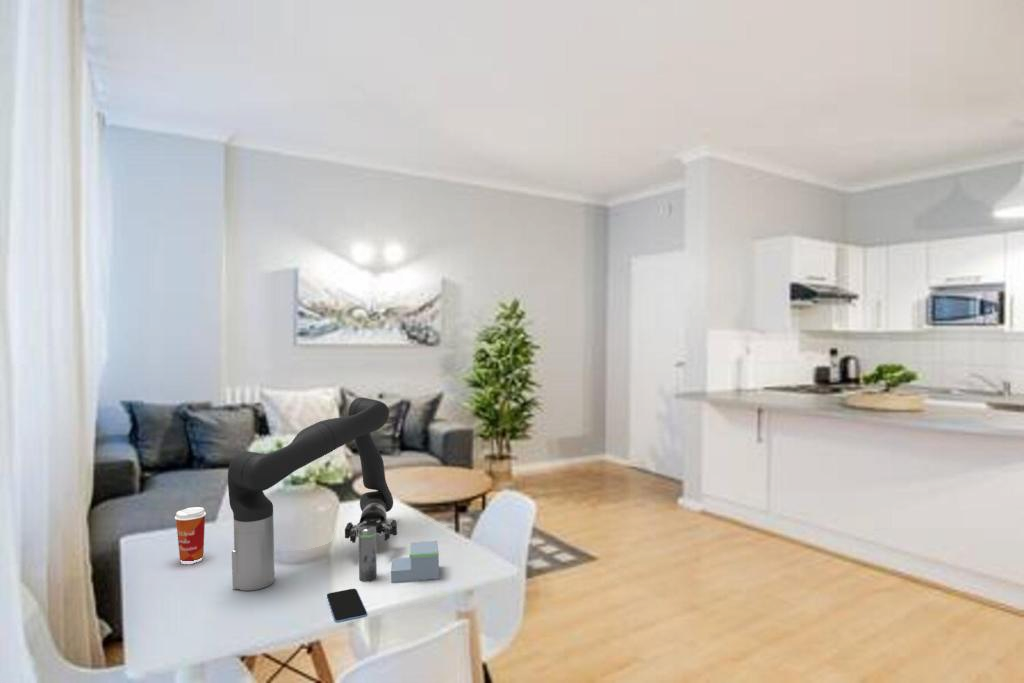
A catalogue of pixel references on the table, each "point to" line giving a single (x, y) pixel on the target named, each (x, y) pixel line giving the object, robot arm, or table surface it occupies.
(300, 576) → the table surface
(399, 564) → the blue-grey stepped block
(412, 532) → the table surface
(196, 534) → the paper cup
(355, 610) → the smartphone
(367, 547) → the steel thermos flask
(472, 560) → the table surface
